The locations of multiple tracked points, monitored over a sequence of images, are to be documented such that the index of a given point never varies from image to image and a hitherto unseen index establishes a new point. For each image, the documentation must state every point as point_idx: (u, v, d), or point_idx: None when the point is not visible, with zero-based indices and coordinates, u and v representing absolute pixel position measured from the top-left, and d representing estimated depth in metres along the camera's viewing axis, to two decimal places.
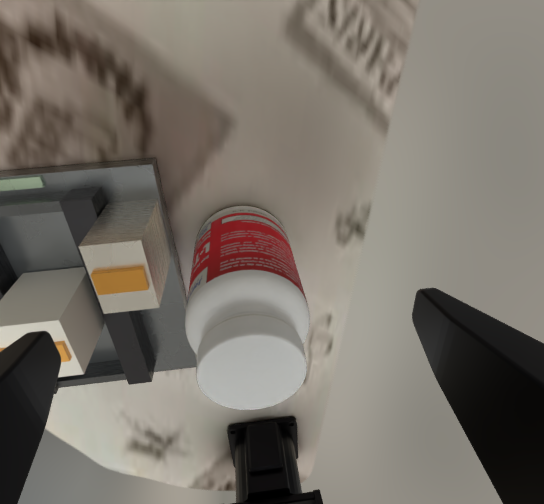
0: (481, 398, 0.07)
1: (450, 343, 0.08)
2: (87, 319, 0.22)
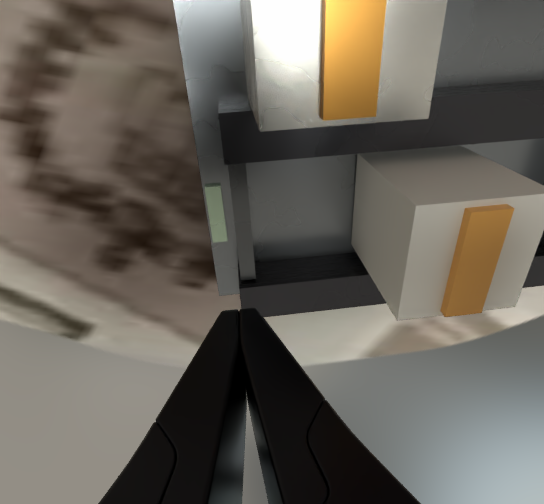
0: (256, 428, 0.07)
1: (244, 368, 0.08)
2: (445, 169, 0.12)
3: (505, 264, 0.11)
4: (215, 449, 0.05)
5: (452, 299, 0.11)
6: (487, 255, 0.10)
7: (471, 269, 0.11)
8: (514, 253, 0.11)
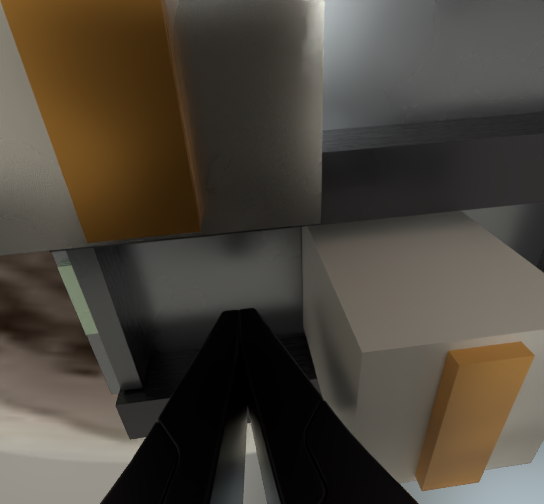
0: (254, 428, 0.07)
1: (243, 368, 0.08)
2: (423, 254, 0.08)
3: (516, 417, 0.07)
4: (216, 449, 0.05)
5: (432, 471, 0.07)
6: (487, 416, 0.06)
7: (462, 436, 0.07)
8: (532, 403, 0.07)
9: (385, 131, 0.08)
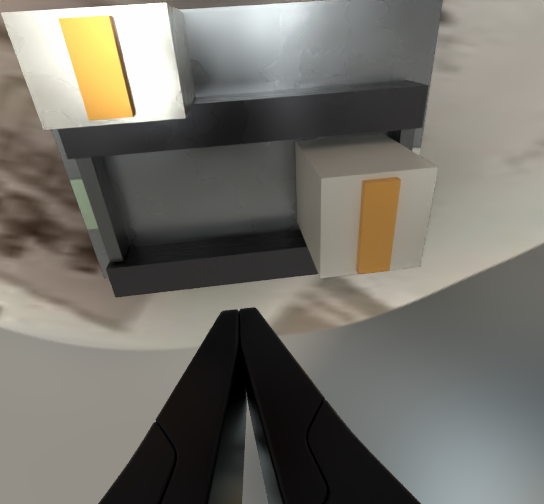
0: (256, 428, 0.07)
1: (244, 368, 0.08)
2: (360, 152, 0.14)
3: (404, 228, 0.13)
4: (215, 449, 0.05)
5: (362, 258, 0.14)
6: (385, 219, 0.13)
7: (374, 232, 0.13)
8: (411, 219, 0.13)
9: (258, 94, 0.15)
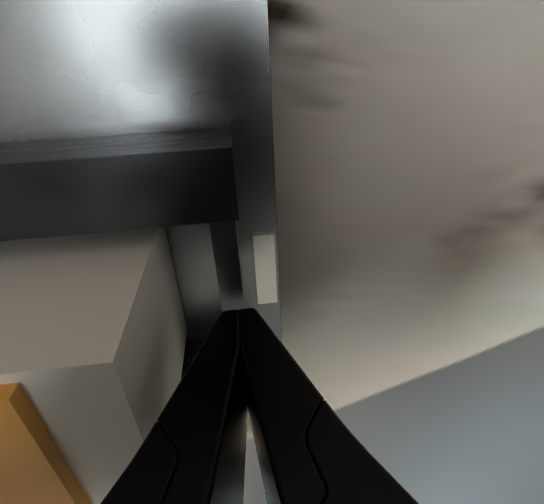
0: (255, 428, 0.07)
1: (243, 368, 0.08)
2: (48, 278, 0.07)
3: (96, 456, 0.07)
4: (217, 449, 0.05)
5: None
6: (20, 459, 0.06)
7: (9, 478, 0.06)
8: (102, 443, 0.06)
9: None
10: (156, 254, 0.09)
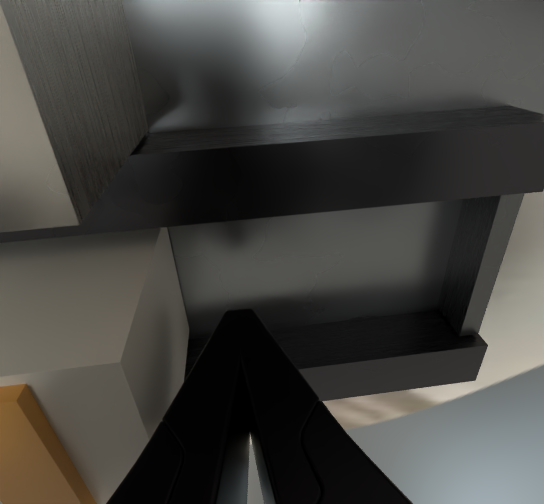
0: (251, 429, 0.07)
1: None
2: (53, 279, 0.07)
3: (103, 456, 0.07)
4: (222, 448, 0.05)
5: None
6: (27, 460, 0.06)
7: (16, 480, 0.06)
8: (108, 443, 0.06)
9: (259, 130, 0.08)
10: (159, 254, 0.09)
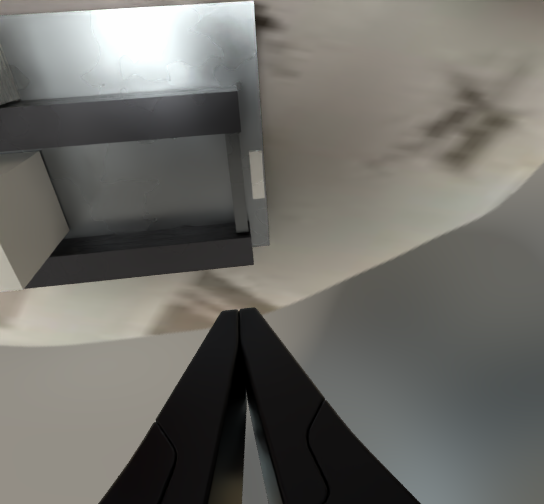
0: (256, 428, 0.07)
1: (244, 368, 0.08)
2: None
3: None
4: (215, 449, 0.05)
5: None
6: None
7: None
8: None
9: (78, 98, 0.15)
10: (27, 168, 0.15)
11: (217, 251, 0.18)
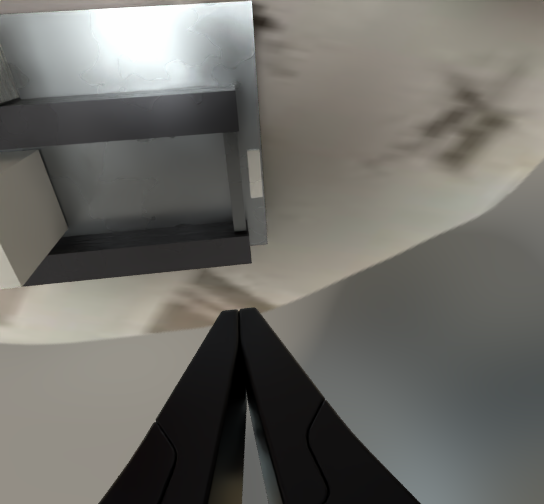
0: (256, 428, 0.07)
1: (244, 368, 0.08)
2: None
3: None
4: (215, 449, 0.05)
5: None
6: None
7: None
8: None
9: (77, 97, 0.15)
10: (26, 166, 0.16)
11: (215, 249, 0.18)
